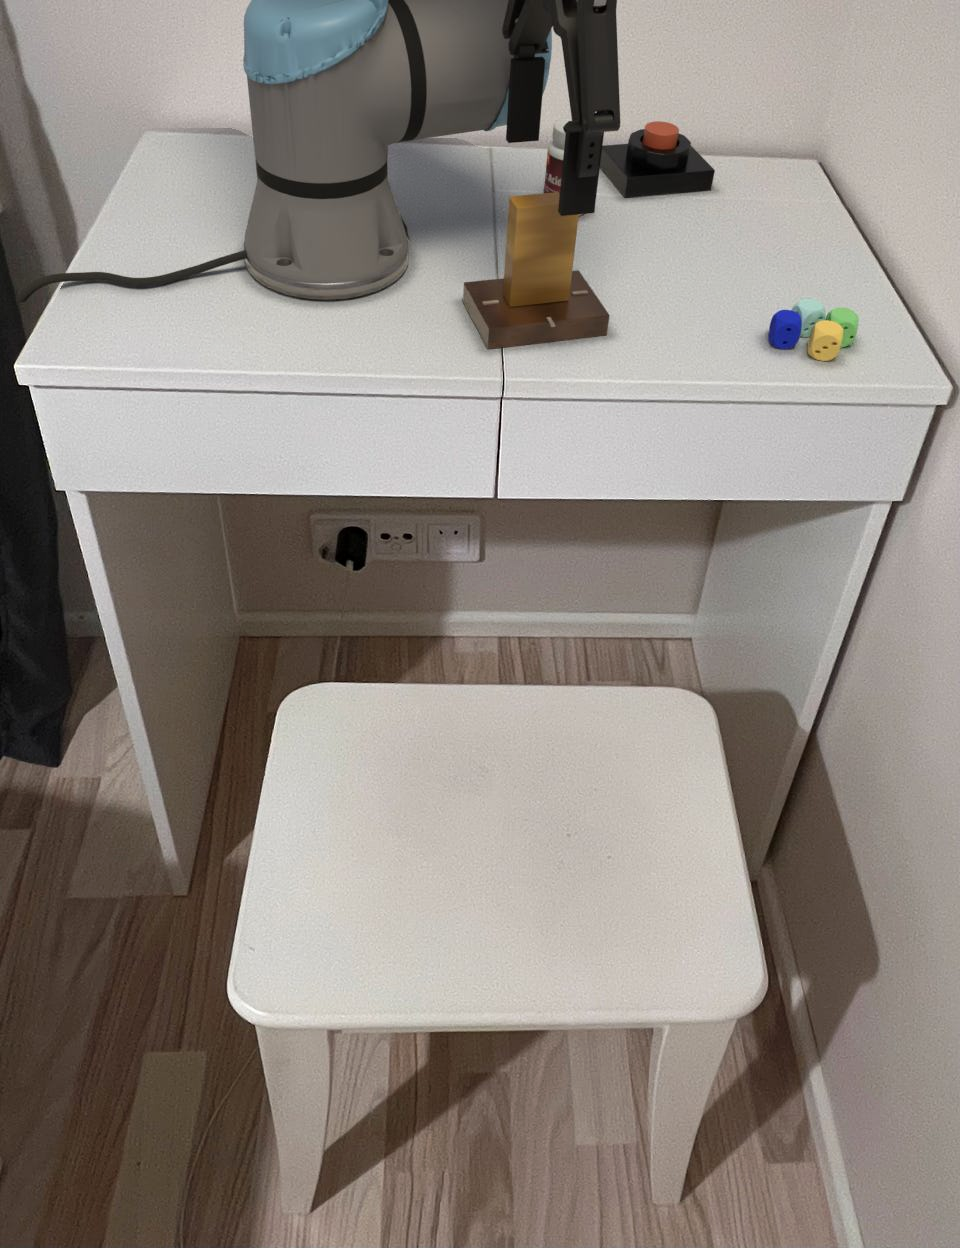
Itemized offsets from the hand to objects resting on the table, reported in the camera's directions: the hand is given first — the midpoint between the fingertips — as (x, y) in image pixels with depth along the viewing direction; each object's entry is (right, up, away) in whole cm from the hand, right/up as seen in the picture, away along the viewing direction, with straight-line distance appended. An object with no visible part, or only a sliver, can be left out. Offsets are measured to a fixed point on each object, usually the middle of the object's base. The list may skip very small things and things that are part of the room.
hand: (547, 175), depth 90 cm
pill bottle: (+3, +7, +25) cm, 26 cm away
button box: (+13, +12, +31) cm, 36 cm away
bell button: (+14, +15, +28) cm, 35 cm away
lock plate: (-1, -9, +10) cm, 13 cm away
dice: (+23, -8, +10) cm, 26 cm away
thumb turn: (-1, -8, +8) cm, 11 cm away
